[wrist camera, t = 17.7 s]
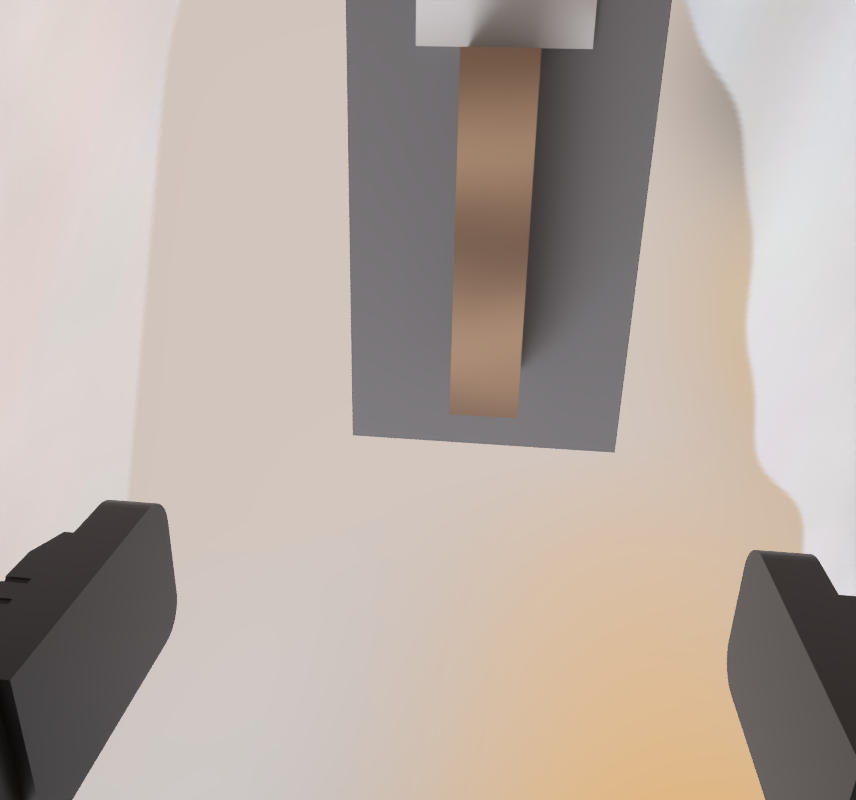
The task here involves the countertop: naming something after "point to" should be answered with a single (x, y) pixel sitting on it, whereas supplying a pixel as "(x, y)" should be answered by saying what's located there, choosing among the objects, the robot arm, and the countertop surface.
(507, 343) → the turner
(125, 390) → the countertop surface
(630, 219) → the mat
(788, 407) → the countertop surface
